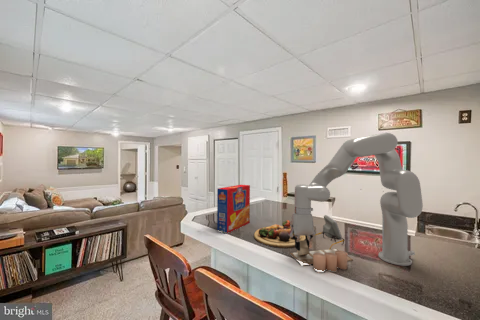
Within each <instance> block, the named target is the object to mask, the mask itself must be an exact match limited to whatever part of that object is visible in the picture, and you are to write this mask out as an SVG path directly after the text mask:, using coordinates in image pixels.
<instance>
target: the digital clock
mask: <svg viewBox="0 0 480 320" xmlns="http://www.w3.org/2000/svg"><path fill="white" fill-rule="evenodd" d="M323 219H324V223H325V224H323V226H322V232H326V233H324V235H326V236H327V237H328V238H332V235H333V236H338V237H336V239H342V238H343V237H342V234H341V230H340V228H339V225H338V222H337V221H336V220H335V219H333V218H332V217H330V216H329V215H326V214H324V215H323ZM328 233H330V234H331V235H330V234H328ZM339 237H341V238H339Z"/></svg>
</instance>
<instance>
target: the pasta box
mask: <svg viewBox="0 0 480 320" xmlns="http://www.w3.org/2000/svg"><path fill="white" fill-rule="evenodd" d="M216 189H217V193H216V194H217V195H216V196H217V200H216V201H217V202H216V203H217V206H216V209H217V212H216V213H217V214H216V218H217V219H216V220H217V222H216V223H217V224H216V227H217V228H216V229H217V230H219V231H223V232H227V233H228V232H230V233H232V232H234V231H236V230H239V229H240V227H241V228H243V227H245V226H247V225H249V224H251V222H250V221H251V220H250V219H251V218H250V217H251V211H250V210H251V209H250V208H251V206H250V203H251V194H250V193H251V185H249V184H236V185H231V186H224V187H219V188H216ZM242 226H243V227H242ZM235 229H236V230H235ZM233 230H234V231H233ZM231 231H232V232H231ZM228 234H229V233H228Z"/></svg>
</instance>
